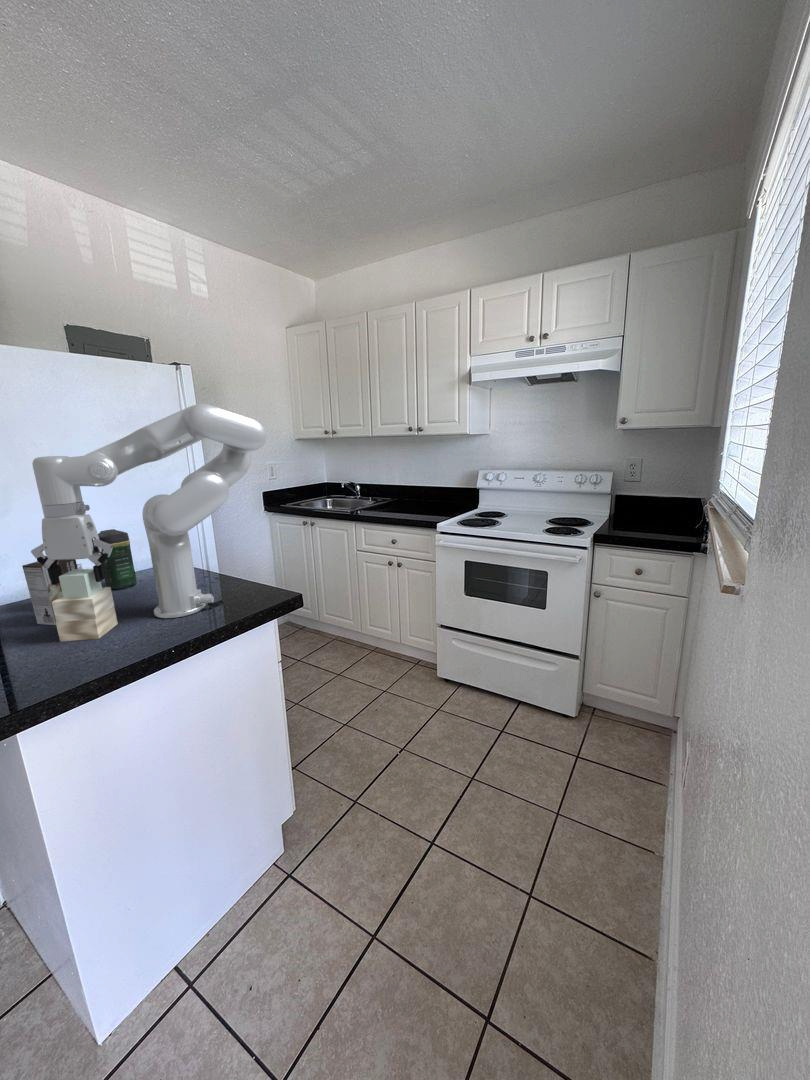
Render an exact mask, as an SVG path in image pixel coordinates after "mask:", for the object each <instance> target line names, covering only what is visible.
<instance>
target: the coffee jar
mask: <svg viewBox="0 0 810 1080" xmlns="http://www.w3.org/2000/svg"><path fill="white" fill-rule="evenodd" d="M97 533H98V536H99V540H101V541H103V542H106V543H108V544H111V545H113V549H112V552H111V556H110V557H109V558H108V559H107V561H106V562H105V568H106V573H107V575H106V579H104V583H105V587H111V590H118V589H119V590H120V589H128V588H130V587H132V586H135V585H137V581H138V580H137V575H136V571H135V565H134V561H133V560H134V559H133V555H132V550H131V548H132V547H131V543H130V542H131V541H130V537H129V534H128V532H125V531H122V530H118V529H114V528H112V529H105V530H101V531H100V532H97ZM101 549H102V548H101ZM103 551H104V550H103V549H102V551H101V553H100V554H101V555H102V554H103Z"/></svg>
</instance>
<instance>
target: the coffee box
mask: <svg viewBox="0 0 810 1080" xmlns="http://www.w3.org/2000/svg"><path fill="white" fill-rule="evenodd" d="M77 564H78V563H77V559H73V560H59V562H58V563H57V565H60V567H61V571H62V575H63V574H65V573H68V572H70V571H72V570H76V569H78V568H77ZM21 567H22V570H23V573H24V578H25V581H26V585H27V589H28V593H29V597H30V600H31V604H32V607H33V612H34V615H35V620H36V623H37V625H45V626H46V625H49V626H56V619H55V614H54V610H53V606H52V602H53V601H54V600H56V599H58V598H60V597H61V596H63V593H62V589H61V585H60V583H58V584H56V585H52V584H51V580H50V578H49V574H48V569H45V568H44V565H42V564H41V563H39V562H38V561H37V560H36V561H34V562H30V563H26V564H23V565H21Z"/></svg>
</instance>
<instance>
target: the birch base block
mask: <svg viewBox="0 0 810 1080" xmlns="http://www.w3.org/2000/svg"><path fill="white" fill-rule="evenodd" d="M117 625H119V623H118V618H117V614H116V609H115V605H114V606H113V607H112V608H110V609H109V610H108V611H106V612H105V613H104V614H102V615H101V616H100V617H98V618H97V619H89V620H77V621H66V622H56V625H55V626H56V629H57V630H56V631H57V633H58V637H59V642H71V641H83V640H84V641H85V640H95V639H96V640H97V639H100V638H101V637H103V636H105V634H107V633H108V632H110V631H111V630H112V629H113V628H114V627H116V626H117Z"/></svg>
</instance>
